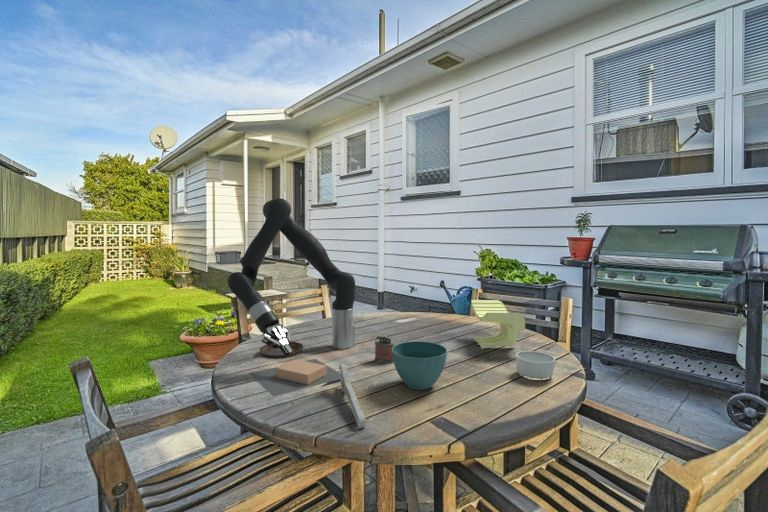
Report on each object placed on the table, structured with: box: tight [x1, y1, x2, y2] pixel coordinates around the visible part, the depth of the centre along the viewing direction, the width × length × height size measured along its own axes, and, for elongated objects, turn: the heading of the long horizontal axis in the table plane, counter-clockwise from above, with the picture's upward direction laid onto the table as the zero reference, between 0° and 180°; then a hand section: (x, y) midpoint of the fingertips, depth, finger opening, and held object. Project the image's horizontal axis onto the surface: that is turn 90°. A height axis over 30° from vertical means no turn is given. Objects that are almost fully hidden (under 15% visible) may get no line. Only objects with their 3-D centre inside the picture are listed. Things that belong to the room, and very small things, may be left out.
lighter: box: [374, 335, 395, 364], centre depth 151 cm, size 8×3×10 cm, turn 65°
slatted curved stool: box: [470, 299, 526, 347], centre depth 174 cm, size 30×16×18 cm, turn 179°
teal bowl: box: [392, 341, 448, 391], centre depth 128 cm, size 18×18×12 cm
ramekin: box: [515, 350, 556, 379], centre depth 137 cm, size 13×13×7 cm
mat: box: [248, 358, 341, 397], centre depth 134 cm, size 26×24×1 cm
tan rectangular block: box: [276, 359, 328, 384], centre depth 133 cm, size 3×10×14 cm
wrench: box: [338, 363, 367, 429], centre depth 113 cm, size 8×2×30 cm
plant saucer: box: [259, 340, 304, 359], centre depth 161 cm, size 18×18×3 cm
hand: (289, 354), depth 135 cm, fingers closed
